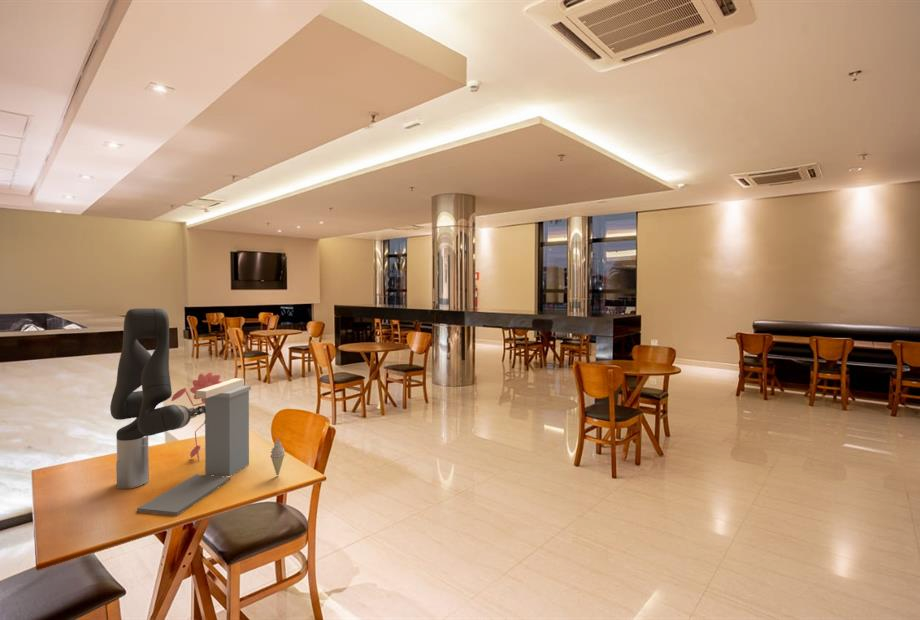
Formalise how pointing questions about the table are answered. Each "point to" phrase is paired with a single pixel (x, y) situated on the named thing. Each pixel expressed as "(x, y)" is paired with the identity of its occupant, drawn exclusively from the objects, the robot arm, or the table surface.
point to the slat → (219, 388)
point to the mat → (183, 495)
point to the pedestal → (227, 432)
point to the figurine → (198, 384)
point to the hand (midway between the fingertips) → (185, 415)
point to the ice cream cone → (277, 456)
